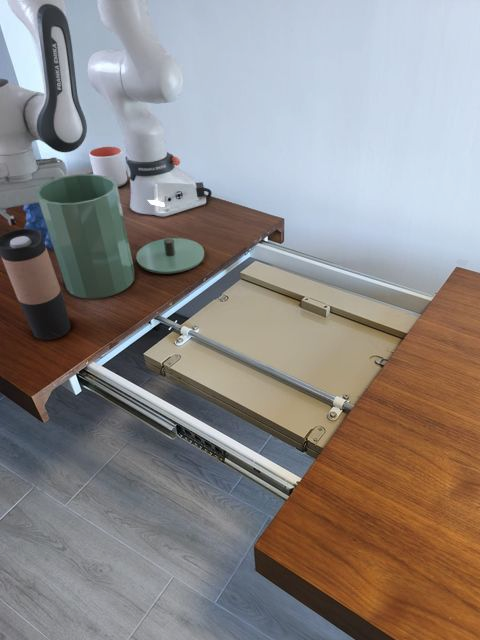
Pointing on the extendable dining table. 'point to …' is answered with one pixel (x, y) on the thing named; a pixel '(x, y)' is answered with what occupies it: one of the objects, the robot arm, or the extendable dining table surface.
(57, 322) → the travel mug
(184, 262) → the lid
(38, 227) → the grapes
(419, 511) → the extendable dining table surface
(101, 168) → the cup
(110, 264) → the pot
